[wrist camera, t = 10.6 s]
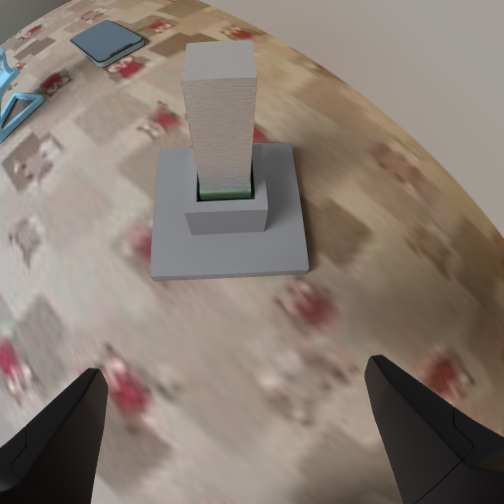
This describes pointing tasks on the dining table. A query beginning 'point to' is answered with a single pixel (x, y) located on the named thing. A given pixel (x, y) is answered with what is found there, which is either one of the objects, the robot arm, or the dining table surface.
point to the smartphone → (107, 43)
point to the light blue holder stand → (13, 98)
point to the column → (221, 115)
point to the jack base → (228, 220)
